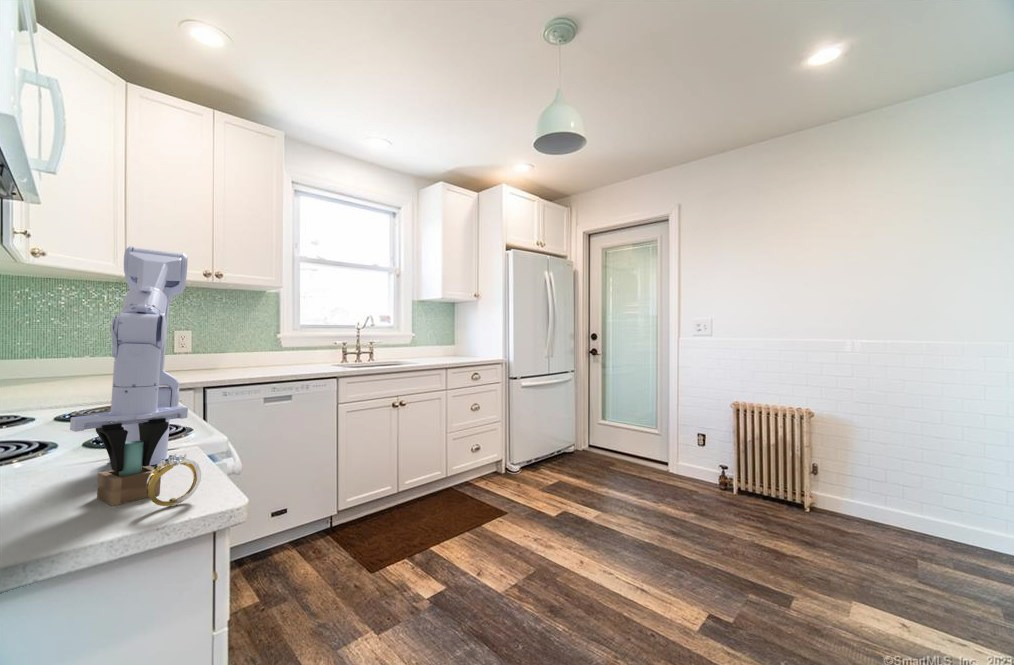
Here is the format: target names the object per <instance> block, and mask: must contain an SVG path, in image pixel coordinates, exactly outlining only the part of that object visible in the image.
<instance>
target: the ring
mask: <svg viewBox="0 0 1014 665" xmlns="http://www.w3.org/2000/svg"><path fill="white" fill-rule="evenodd" d="M187 454H188V453H184V454H180V455H179V456H177V455H178V454H177V453H173V454H170V455H168V456H169V458H168V459H162V462H161V463H159V464H156V466H154V469H153V470H152V472H151V473H150V475H149V477H148V480H147V483H146V493H147V496H148V497H147V498H148V499H149V500H150V501H151V502H152V503H154V504H155V505H158V506H160V507H177V506H178V505H179V504H181V503H183V502H185V501H187V500H188V499H189V498H191V497H192V495H193V494H195V492H196V491H197V489H198V488H199V485H200V484H201V481H202V470H201V467H200V465H199V464H198V462H196V461H195V460H193V459H189V458H187ZM178 465H183V466H186V467H188V468H189V469H190V471H191V472H192V475H193V480H192V481H193V482H192V484H191V485H190V488H189V489H188V490H187V491H185V493H184V494H183V495H181V496H179V497H177V498H176V497H173V498H170V499H169V500H160V499H159V498H157V497H156V496H157V495H155V494H154V486H155V484H156V482H157V481H158V479H159V478H160V477H161V478H162V476H163V475H164V474H166V473H167V472H169V471H170V470H172V469H173V468H174V467H176V466H178Z"/></svg>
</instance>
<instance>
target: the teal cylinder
mask: <svg viewBox="0 0 1014 665" xmlns="http://www.w3.org/2000/svg"><path fill="white" fill-rule="evenodd" d="M143 447H144V441H129V442H125V447H124V465H123V470H122V471H120V472H119V477H124V476H128V475H133V474H138V473H142V462H143Z"/></svg>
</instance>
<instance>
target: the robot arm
mask: <svg viewBox="0 0 1014 665" xmlns="http://www.w3.org/2000/svg"><path fill="white" fill-rule="evenodd" d="M188 258H189V257H188V256H187V254H185V252H181V253H179V252H173V251H163V250H156V249H150V248H149V249H148V248H141V247H134V246H132V245H131V246H128V247H126V248H125V251H124V255H123V273H124V275H125V281H126V284H127V285H128V291H127V293H126V295H125V297H124V301H123V305H122V308H121V311H120V315H114V316H113V318H112V321H111V326H110V339H111V346H112V349H111V350H112V351H111V356H112V357H111V358H113V359H114V361H113V374H112V386H111V387H112V389H111V402H110V411H108V412H103V413H102V412H101V413H94V414H88V415H87V414H86V415H80V416H72V417H70V426H69V431H72V432H74V433H75V432H82V431H83V432H84V430H95V432H96V434H97V436H98V437H99V438H100V440H101V442H102V443H103V445H104V447H105V450H106V452H107V455H108V458H109V459H108V460H107V461H108V462H109V463H110V466H111V467H110V468H111V470H113V471H115V472H120V471H122V470H123V465H124V447H125V442H129V441H144V447H143V462H142V466H144V467H145V466H155V465H156V466H157V465H158V464H159V463H161V462H162V459H168V458H169V456H170V455H168V448H169V434H170V420H175V419H180V420H182V419H188V412H189V407H188V406H183V405H181V406H179V402H180V382H179V380H178V378H177V377H175V376H173V375H172V374H171V373H168V372H167V371H166V370H165V361H166V349H167V348H166V347H167V337H168V336H167V335H168V324H169V309H170V305H171V303H172V300H173V299H174V297H175V296H178V295H181V294H184V290H185V289H186V282H187V277H188Z"/></svg>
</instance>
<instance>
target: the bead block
mask: <svg viewBox="0 0 1014 665" xmlns="http://www.w3.org/2000/svg"><path fill="white" fill-rule="evenodd" d="M154 468H155V466H153V465H151V466H145V467H144V466H142V473H138V474H133V475H128V476H124V477H119V472H115V471H113V470H112V469H110V470H106V471H100V472H98V474H97V475H98V476H97V477H98V478H97V491H96V498H97V499H99V500H100V501H103V502H104V503H106V504H108V505H109V506H112V507H114V506H118V505H122V504H123V505H124V504H126V503H130V502H134V501H138V500H142V499H147V498H149V497H148V496H147V493H146V483H147V480H148V477H149V475H150V473H151V472H152V470H153V469H154ZM161 480H162V476H161V477H160V478H159V479H158V481H157V482H156V484H155V486H154V494H155V496H157V495H161Z"/></svg>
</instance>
